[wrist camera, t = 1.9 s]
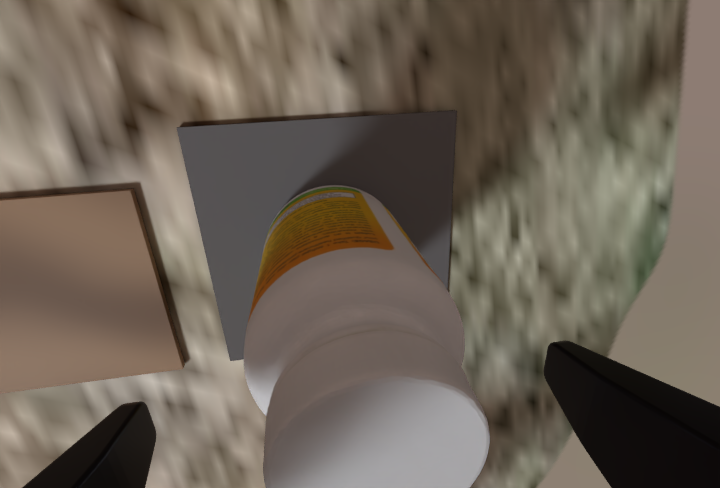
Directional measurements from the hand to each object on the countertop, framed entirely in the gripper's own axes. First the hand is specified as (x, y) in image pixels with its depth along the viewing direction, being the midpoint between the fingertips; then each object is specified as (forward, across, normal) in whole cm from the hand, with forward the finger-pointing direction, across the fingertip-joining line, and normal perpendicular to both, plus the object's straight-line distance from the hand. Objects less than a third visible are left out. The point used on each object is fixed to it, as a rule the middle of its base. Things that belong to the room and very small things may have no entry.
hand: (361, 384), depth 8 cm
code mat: (+8, 0, 0) cm, 8 cm away
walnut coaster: (+8, +11, +1) cm, 14 cm away
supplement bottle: (+8, 0, 0) cm, 8 cm away
